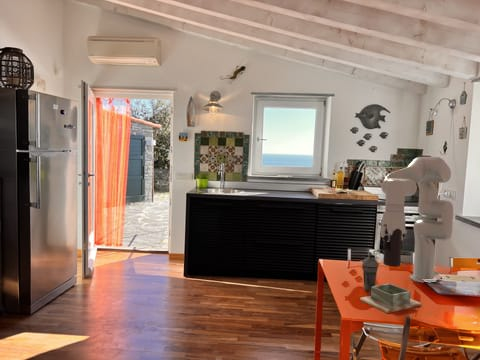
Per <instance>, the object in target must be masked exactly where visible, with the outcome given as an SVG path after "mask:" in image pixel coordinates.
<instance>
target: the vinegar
mask: <svg viewBox="0 0 480 360" xmlns="http://www.w3.org/2000/svg"><path fill="white" fill-rule="evenodd" d="M386 234H387V235H386V236H387V238H388V232H387V231H386ZM401 239H402V231H401V230H400V229H396V230H394V231H393V233H392V235H391V236H390V242H391V248H390V251H388V249H386V250H384V249H383V265H385V266H387V267H393V268H396V267H400V266H401V263H402V262H401V257H402V250H401Z"/></svg>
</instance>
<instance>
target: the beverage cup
mask: <svg viewBox="0 0 480 360" xmlns="http://www.w3.org/2000/svg"><path fill="white" fill-rule="evenodd" d="M367 255H368V256H367V257H366V258H364V259H363V261H362V264H361V265H362V273H363V289H364V290H365V291H368V292H371V287H372V286H376V280H377V272H378V269H379V264H378V260H376V259H375V258H374V257H371V256H370V247H368V248H367Z"/></svg>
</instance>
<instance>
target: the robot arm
mask: <svg viewBox="0 0 480 360" xmlns="http://www.w3.org/2000/svg"><path fill="white" fill-rule="evenodd" d="M451 176H452V172H451V169H450V167H449V165H448V164H447V162H446V161H445V160H444V159H443V158H442V157H439V156H417V157H415V158H414V159H412V161H411V162H410V163H409V164H408V165H407V166H406V167H404V168H401V169H398V170H394V171H392V172H390V173H388V174H387V175H386V176H385V178H383V181H382V183H381V191H382V193H384V194H385V202H384V203H385V205H384V207H385V208H384V211H383V213H382V218H381V227H380V232H379V235H380V237H381V238H382V240H383V251H384V250H386V249H388V251H390V248H391V242H390V236H391V235H392V233H393V231H394V230H396V229H400V230H401V231H402V239H401V251H402V250H403V241H404V238H405V237H406V235H407V233H408V230H407V229H406V213H405V199H406V198H405V197H411V196H413V195H415V194H416V192H417V191H418V190H419V191H418V192H419V195H418V206H417V207H418V214H419V216H421V217H425V218H431V219H418V220H416V221H415V222H414V223H413V233H414V235H413V236H414V254H413V257H414V258H413V273H412V274H410V275H409V278H410V279H411V280H412V281H415V282H418V283H421V284H422V283H423V284H425V283H424V282H423V281H422V280H421V279H433V278H434V277H435V276H438V275H440V272H439V271H438V270H436V271H435V256H436V246H435V244H434V242H433V241H432V240H436V241H444V242H445V241H447V242H448V241H449V240H450V239H451V238H452V233H453V223H454V222H453V219H454V206H453V203H452V202H451V201H449V200H445V199H438V193H439V190H438V188H437V186H436V184H435V183H442V184H443V183H447V182H449V181H450V180H451ZM417 186H418V187H417ZM417 189H418V190H417ZM432 219H433V220H432ZM434 219H440V220H441V221H440V220H434ZM386 231H387V232H388V238H387V236H386V235H387V234H386Z"/></svg>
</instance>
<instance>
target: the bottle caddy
mask: <svg viewBox="0 0 480 360" xmlns="http://www.w3.org/2000/svg"><path fill="white" fill-rule="evenodd" d="M359 301H361V302H363V303H366V304H368V305H370V306H371V307H374V308H376V309H378V310H380V311H382V312H384V313H386V314H390V313H393V312H398V311H401V310H402V311H404V310H406V309H411V308H415V307H420V306H422V303H421V302H419V301H417V300H415V299H412V298H411V291H410V290H409V289H406V288H403V287H400V286H397V285H396V284H393V283H385V284H384V283H383V284H378V285H375V286H372V287H371V291H370V295H368V296H363V297H359Z"/></svg>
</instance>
